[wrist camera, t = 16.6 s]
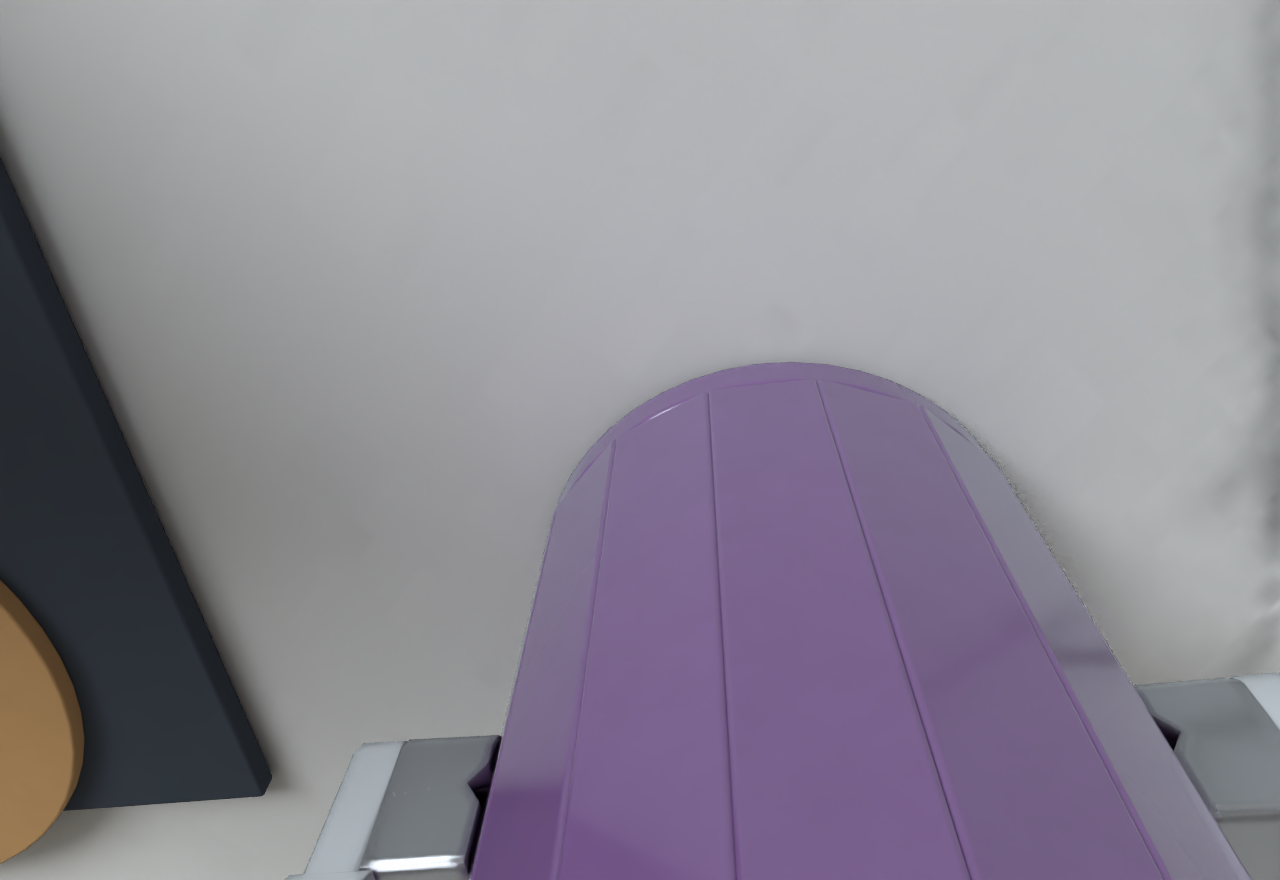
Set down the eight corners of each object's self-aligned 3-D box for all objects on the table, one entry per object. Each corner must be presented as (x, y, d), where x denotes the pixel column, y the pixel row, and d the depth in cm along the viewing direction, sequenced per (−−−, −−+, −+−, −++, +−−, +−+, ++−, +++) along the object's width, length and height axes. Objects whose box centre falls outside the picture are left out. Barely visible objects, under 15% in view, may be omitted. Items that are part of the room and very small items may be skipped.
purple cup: (1026, 330, 11) (1969, 1373, 3) (1006, 728, 14) (1461, 1817, 6) (503, 390, 12) (97, 1388, 4) (587, 759, 14) (467, 1778, 6)
